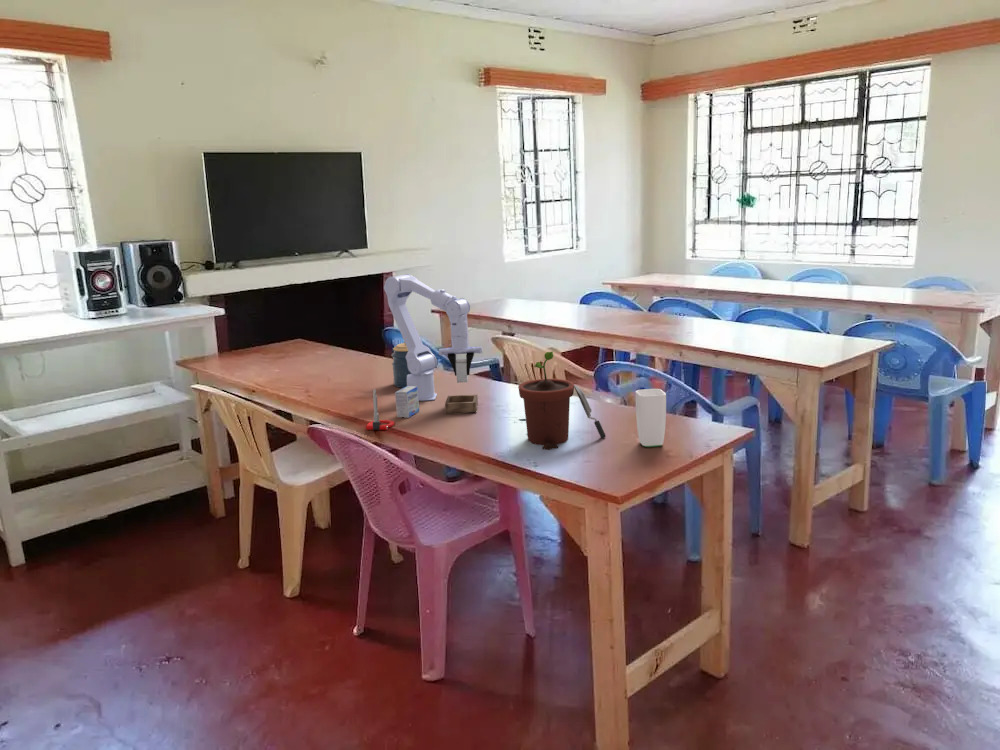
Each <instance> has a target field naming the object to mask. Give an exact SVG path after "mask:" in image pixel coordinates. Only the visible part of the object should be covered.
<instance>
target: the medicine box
mask: <svg viewBox="0 0 1000 750" xmlns="http://www.w3.org/2000/svg"><path fill="white" fill-rule="evenodd" d="M394 396H395V397H394V398H395V409H396V417H397V418H402V417H404V419H405V418H407V419H409V417H410V418H411V417H413V416H414V415H415V413H416V414H418V413H419V412H420V405H419V404H420V403H419V401H418V388H417V387H415V386H406V387H404V388H402V387H401V389H398V390H397V391H395V392H394ZM412 415H413V416H412Z"/></svg>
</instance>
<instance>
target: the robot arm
mask: <svg viewBox="0 0 1000 750" xmlns="http://www.w3.org/2000/svg"><path fill="white" fill-rule="evenodd" d="M383 289H384V291H385V294H386V296H387V304H388V307H389V309H390V311H391V314H392V317H393V319H394V321H395V322H396V325H397V327H398V329H399V332H400V334H401V337H402V339H403V342H404V341H405V344H406V346H407V348H408V353H407V355H406V360H407V366H408V370H409V371H410V373H411V374H408V375H407V386H415V387H417V388H418V401H435V400H436V398H437V395H438V393H437V392H435V391H436V390H435V380H434V379H435V378H434V377H435V376H434V372H435V369H436V368H437V365H438V360H437V357H436V355H435V354H433V352H432V351H431V349H430V347H428V346H427V345H425V344H423V341H422V339H421V337H420V334H419V332H418V330H417V328H416V325H415V323H414V321H413V319H412V316H411V314H410V312H409V309H408V307H407V304H406V302H407V299H408V298H409V297H410V295H412V293H415V294H418V295H420V296H422V297H424V298H426V299H429V300H430V303H431V305H433V306H435V307H437V308H438V309H440V310H442V311H444V312H446V315H447V317H448V320H449V323H450V338H451V347H443V348H439V349H438V356H443V355H444V356H445V355H447V359H448V361H449V363H450V365H451V367H452V369H453V372H454V376H456V377H457V375H456V360H457V355H465V359H467V375H468V376H469V375H471V374H470V372H471V371H470V370H471V365H472V362H473V358H474V357H475V354H483V346H470V345H469V327H468V326H469V325H468V324H469V323H468V314H469V313H470V311H471V306H470V303H469V301H468V300H467V299H465V298H463V297H461V298H458V297H457V296H456V295H452V294H451V293H447V292H446V289H444V288H443V289H441V288H440V289H436V290H435V289H434V288H431V286H428V285H427V284H425V283H424V282H422V281H420V280H419V279H417V277H416V276H413V275H412V274H409V273H405V274H401V275H397V276H389V277H388V278H387V279H386V280H385V283H384V286H383ZM417 355H420V356H417Z"/></svg>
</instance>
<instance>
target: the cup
mask: <svg viewBox="0 0 1000 750" xmlns="http://www.w3.org/2000/svg"><path fill="white" fill-rule="evenodd" d="M635 415H636V417H635V418H636V428H637V429H636V430H637V436H638V442H639V443H640V444H641V445H642V447H644V448H645V447H646V448H651V447H654V448H655V447H661V446H662V445H663V444H664V441H665V431H666V423H667V422H666V420H667V418H666V417H667V393H666V392H665V391H664V390H662V389H661V388H646V389H645V388H644V389H637V390H635Z"/></svg>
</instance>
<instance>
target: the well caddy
mask: <svg viewBox="0 0 1000 750" xmlns="http://www.w3.org/2000/svg"><path fill="white" fill-rule="evenodd" d="M478 399H479V397H478V394H459V395H457V394H456V395H447V397H446V399H445V402H444V408H445V415H453V413H460V414H467V413H466V412H476V411H477V410H478V407H477V406H479V400H478ZM476 413H477V412H476Z"/></svg>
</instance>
